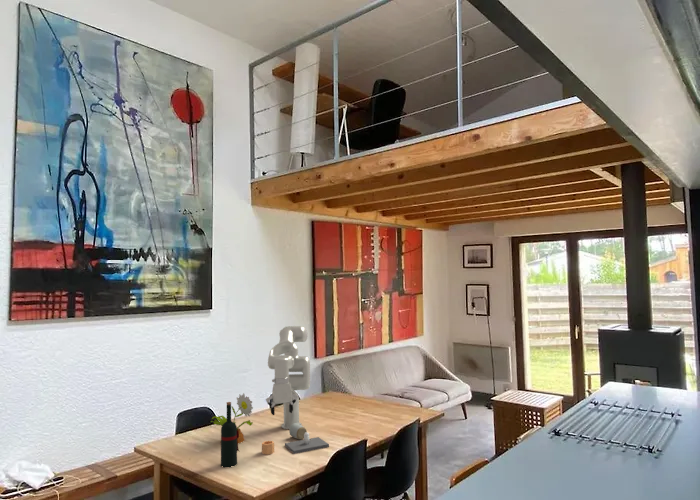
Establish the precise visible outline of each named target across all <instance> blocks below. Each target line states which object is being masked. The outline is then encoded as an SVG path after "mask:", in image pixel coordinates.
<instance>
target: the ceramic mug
mask: <svg viewBox="0 0 700 500" xmlns="http://www.w3.org/2000/svg"><path fill="white" fill-rule="evenodd" d="M288 431H289V435H290V437H292V438H294V439H297V440H298V441H300V440H304V434H305V433H306V432H307V433H308V431H307V428H306V427H305V426H303V425H302V426H301V425H299V424H298V423H294V424H292V425H291V427H290V429H288Z"/></svg>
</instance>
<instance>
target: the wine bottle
mask: <svg viewBox="0 0 700 500" xmlns="http://www.w3.org/2000/svg"><path fill="white" fill-rule="evenodd" d="M226 418H227V422H225V423H224V424H223V425H222V426H220V427H221V428H220V467H221V466H223V467H222V468H225V467H229V468H232V467H231V466H234V467H236V466H237V465H238V452H240V450H239V444H238V441H237V438H239V431H237V427H238V426H237V424H236V422H235V421H232V401H228V402H226ZM234 422H235V423H234ZM236 464H237V465H236ZM235 465H236V466H235Z"/></svg>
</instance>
